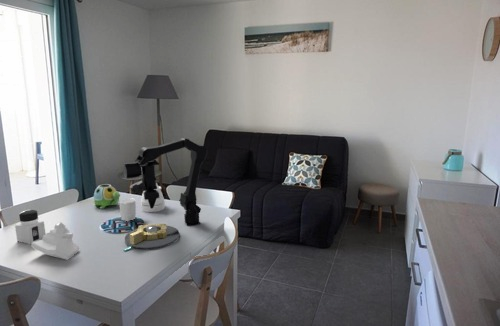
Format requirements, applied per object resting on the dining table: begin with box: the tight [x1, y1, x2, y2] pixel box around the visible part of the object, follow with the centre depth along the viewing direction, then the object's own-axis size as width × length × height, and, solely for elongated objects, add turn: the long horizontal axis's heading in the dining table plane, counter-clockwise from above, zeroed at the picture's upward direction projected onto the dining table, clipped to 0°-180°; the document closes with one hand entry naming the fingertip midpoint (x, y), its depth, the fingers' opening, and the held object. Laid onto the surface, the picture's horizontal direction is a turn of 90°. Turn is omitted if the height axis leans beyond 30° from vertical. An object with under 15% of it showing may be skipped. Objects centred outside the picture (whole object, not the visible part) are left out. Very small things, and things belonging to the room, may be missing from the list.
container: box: [14, 209, 46, 245], centre depth 143 cm, size 8×8×13 cm
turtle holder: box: [93, 183, 121, 210], centre depth 188 cm, size 12×18×12 cm
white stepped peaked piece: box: [30, 221, 80, 261], centre depth 130 cm, size 12×15×14 cm
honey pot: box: [140, 182, 166, 213], centre depth 184 cm, size 13×13×18 cm
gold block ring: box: [130, 222, 167, 245], centre depth 144 cm, size 19×15×4 cm
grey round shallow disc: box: [123, 224, 180, 253], centre depth 145 cm, size 23×23×5 cm
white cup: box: [118, 197, 137, 221], centre depth 167 cm, size 8×8×10 cm
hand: (151, 208), depth 151 cm, fingers closed
